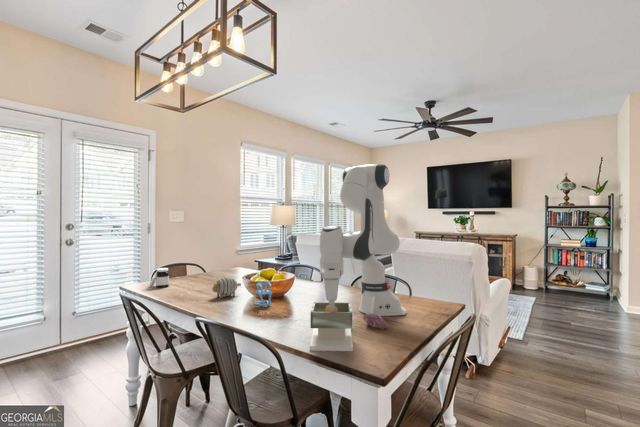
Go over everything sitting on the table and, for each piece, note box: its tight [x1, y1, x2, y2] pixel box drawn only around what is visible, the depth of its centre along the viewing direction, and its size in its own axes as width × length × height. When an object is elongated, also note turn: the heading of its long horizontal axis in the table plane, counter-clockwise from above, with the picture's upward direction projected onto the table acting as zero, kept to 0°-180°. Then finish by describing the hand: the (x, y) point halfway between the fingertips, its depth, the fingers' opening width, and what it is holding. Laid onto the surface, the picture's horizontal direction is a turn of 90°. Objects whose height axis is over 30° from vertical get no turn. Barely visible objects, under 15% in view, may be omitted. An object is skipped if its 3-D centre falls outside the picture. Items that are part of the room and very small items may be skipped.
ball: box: [325, 305, 338, 312], centre depth 125 cm, size 5×5×5 cm
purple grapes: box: [362, 313, 389, 329], centre depth 139 cm, size 10×5×7 cm, turn 46°
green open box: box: [310, 301, 353, 330], centre depth 130 cm, size 30×15×6 cm, turn 177°
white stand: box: [309, 328, 354, 352], centre depth 131 cm, size 32×15×8 cm, turn 177°
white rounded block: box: [149, 267, 170, 289], centre depth 216 cm, size 12×11×12 cm
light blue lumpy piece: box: [253, 280, 273, 308], centre depth 173 cm, size 8×8×12 cm
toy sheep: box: [212, 276, 242, 299], centre depth 190 cm, size 11×17×11 cm, turn 133°
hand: (332, 306), depth 123 cm, fingers open, 8 cm apart
